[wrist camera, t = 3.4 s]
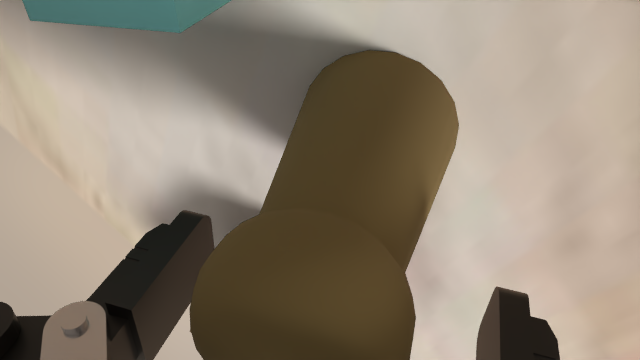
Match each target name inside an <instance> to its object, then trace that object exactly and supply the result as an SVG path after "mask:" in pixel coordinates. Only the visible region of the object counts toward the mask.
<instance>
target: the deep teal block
mask: <svg viewBox="0 0 640 360" xmlns="http://www.w3.org/2000/svg"><path fill="white" fill-rule="evenodd" d="M22 1H23V3H24V6H25V8H26V11H27V14H28V16H29V19H30V21H42V22H54V23H66V24H78V25H90V26H103V27H115V28H127V29H139V30H151V31H163V32H175V33H181V32H183V31H184V30H186V29H187V28H189V27H190V26H192V25H194V24H195V23H197V22H198V21H200V20H201V19H203V18H205V17H206V16H208V15H209V14H211V13H212V12H214V11H215V10H217V9H219V8H220V7H222V6H223V5H225V4H226V3H228V2H230V1H231V0H22Z"/></svg>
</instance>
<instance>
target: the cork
mask: <svg viewBox="0 0 640 360" xmlns="http://www.w3.org/2000/svg"><path fill="white" fill-rule="evenodd" d="M458 128H459V123H458V118H457V113H456V108H455V103H454V101H453V99H452V97H451V96H450V94H449V92H448V91H447V89H446V87H445V86H444V84H443V82H442V81H441V80H440V79H439V78H438V77H437V76H436V75H434V74H433V73H432V72H431V71H430V70H428V69H427V68H426V67H425V66H424V65H422V64H421V63H419V62H417V61H415V60H412V59H410V58H407V57H405V56H402V55H400V54H398V53H394V52H383V51H371V50H368V51H363V52H359V53H354V54H350V55H346V56H343V57H341V58H340V59H338V60H336V61H335V62H333V63H332V64H330V65H328V66H327V67H325V68H324V69H323V70H322V71H321V72H320V74H319V75H318V76H317V78H316V79H315V80H314V81H313V83H312V84H311V85H310V87H309V89H308V92H307V95H306V97H305V100H304V102H303V105H302V107H301V110H300V112H299V115H298V117H297V120H296V123H295V125H294V128H293V130H292V133H291V135H290V138H289V140H288V143H287V145H286V148H285V150H284V153H283V156H282V158H281V161H280V163H279V166H278V168H277V171H276V173H275V176H274V178H273V181H272V184H271V186H270V189H269V191H268V194H267V196H266V199H265V201H264V204H263V206H262V209H261V212H260V214H259V215H258V216H255V217H253V218H251V219H249V220H246V221H244V222H242V223H241V224H240V225H239V226H237V227H236V228H235V229H234V230H232V231H231V232H230V233H228V234H227V235H226V236H225V238H224V239H223V240H222V241H221V242H220V243H219V244H218V246H217V247H216V248H215V249H214V250H213V251H212V253H211V254H210V256H209V257H208V258H207V260H206V261H205V263H204V264H203V266H202V267H201V269H200V271H199V274H198V277H197V280H196V283H195V286H194V290H193V295H192V300H191V306H190V327H191V333H192V336H193V340H194V343H195V346H196V349H197V351H198V352H199V353H200V355H201V356H202V358H203V359H204V360H410V354H411V347H412V341H413V334H414V327H415V320H416V316H415V310H414V303H413V297H412V293H411V290H410V287H409V284H408V281H407V278H406V274H405V272H406V269H407V267H408V264H409V262H410V259H411V257H412V254H413V252H414V249H415V247H416V244H417V242H418V239H419V237H420V234H421V232H422V229H423V226H424V224H425V221H426V219H427V216H428V214H429V211H430V209H431V206H432V204H433V201H434V199H435V196H436V194H437V191H438V189H439V186H440V184H441V181H442V179H443V176H444V174H445V171H446V169H447V166H448V164H449V161H450V159H451V156H452V154H453V151H454V149H455V145H456V139H457V134H458Z"/></svg>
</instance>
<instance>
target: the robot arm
mask: <svg viewBox="0 0 640 360" xmlns="http://www.w3.org/2000/svg"><path fill="white" fill-rule="evenodd" d="M213 250H214V242H213V233H212V224H211V219H210V217H209V216H207V215H202V214H198V213H194V212H190V211H186V210H184V211H182V212H180V213H179V214H178V216H177V217H176V218H175V219H174V220H173V222H172V223H171V224H170V225H168V224H164V223H162V224H161V225H159V226H157V227H156V228H154V229H152V230H151V231H149V232H147V233H146V234H145V235H144V236H143V237H142V239H141V240H140V241H139V242H138V243H137V244H136V245H135V248H134V249H132V250H131V251H130V252H129V253H128V254H127V256H126V258H125V260H124V259H123V260H122V261H121V262H120V263H119V265H118V266H117V267H116V268H115V269H114V270H113V271H112V272H111V274H110V275H109V276H108V277H107V278H106V279H105V280H104V282H103V283H102V284H101V285H100V286H99V287H98V289H97V290H96V291H95V292H94V293H93V294H92V295H91V296H90V297H89V298H88V299H87V300H86V301H80V302H75V303H71V304H69V305H66V306H64V307H63V308H61V309H59V310H58V311H56V312H55V313H54V314H53V315H51V316H16V315H15V314H14V312H13V310H12V308H11V307H10V306H9V305H8V304H6V303H3V302H0V360H153V359H154V358H155V356H156V354H157V353H158V352H159V350H160V348H161V347H162V345H163V344H164V342H165V341H166V339H167V338H168V336H169V335H170V333H171V332H172V330H173V329H174V327H175V325H176V324H177V322H178V321H179V319H180V318H181V316H182V315H183V313H184V311H185V310H186V309H187V307H188V306H189V304H190V303H191V300H192V295H193V290H194V286H195V283H196V280H197V277H198V274H199V271H200V269H201V267H202V266H203V264H204V263H205V261H206V260H207V258H208V257H209V256H210V254H211V253H212V251H213ZM476 360H560V356H559V349H558V341H557V338H556V337H555V335H554V333H553V332H552V330H551V328H550V326H549V325H548V323H547V321H546V320H543V319H539V318H535V317H531V316H530V308H529V298H528V295H527V294H525V293H521V292H517V291H513V290H509V289H505V288H501V287H496V288H495V289H494V292H493V294H492V297H491V299H490V302H489V304H488V307H487V309H486V312H485V314H484V317H483V319H482V322H481V325H480V328H479V332H478V338H477V350H476Z"/></svg>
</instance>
